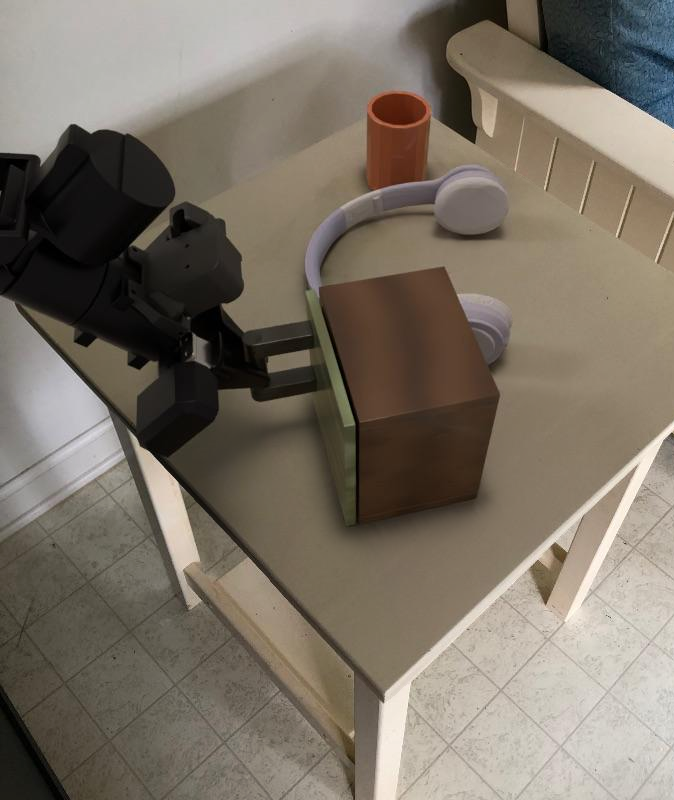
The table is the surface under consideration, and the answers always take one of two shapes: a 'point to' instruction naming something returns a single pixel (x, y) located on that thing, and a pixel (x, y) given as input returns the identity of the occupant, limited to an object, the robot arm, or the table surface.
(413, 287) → the cupboard
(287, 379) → the door
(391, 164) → the cup
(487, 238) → the table surface
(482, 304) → the headphones
